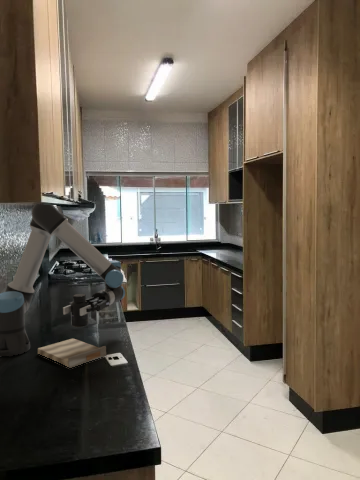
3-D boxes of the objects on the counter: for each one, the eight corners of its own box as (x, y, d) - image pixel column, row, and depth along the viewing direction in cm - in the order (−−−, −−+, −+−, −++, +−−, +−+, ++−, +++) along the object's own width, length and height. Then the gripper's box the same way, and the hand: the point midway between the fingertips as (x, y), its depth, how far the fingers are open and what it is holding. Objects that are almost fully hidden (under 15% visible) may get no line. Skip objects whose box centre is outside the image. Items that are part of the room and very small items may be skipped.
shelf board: (37, 354, 152) (37, 344, 152) (72, 344, 164) (72, 334, 164) (70, 369, 137) (70, 358, 137) (106, 356, 149) (106, 346, 149)
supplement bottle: (67, 326, 151) (66, 296, 150) (78, 321, 157) (77, 292, 156) (82, 328, 148) (81, 297, 147) (92, 323, 154) (91, 293, 154)
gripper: (123, 308, 166) (95, 323, 144) (83, 306, 172) (51, 319, 151) (122, 291, 166) (94, 303, 144) (83, 289, 172) (50, 300, 150)
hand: (72, 311), depth 147 cm, fingers closed on supplement bottle, 7 cm apart
